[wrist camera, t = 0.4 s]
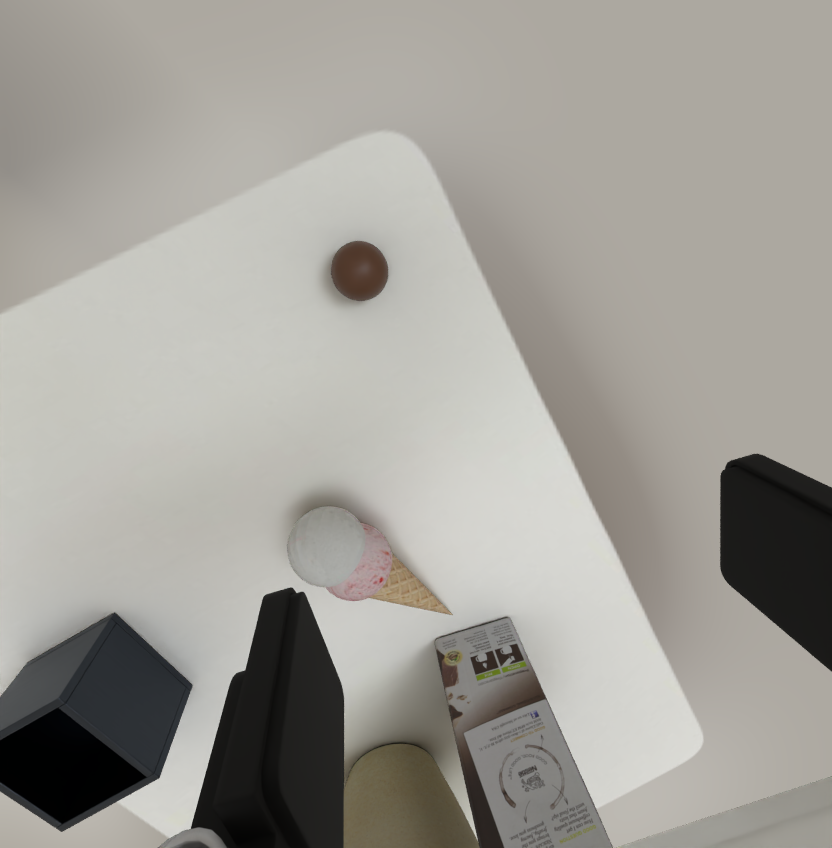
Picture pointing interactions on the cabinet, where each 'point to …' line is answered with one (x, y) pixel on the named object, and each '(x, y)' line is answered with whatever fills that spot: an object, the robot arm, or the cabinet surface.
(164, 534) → the cabinet surface
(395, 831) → the plant pot
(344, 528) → the ice cream cone
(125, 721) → the waste bin
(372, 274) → the ball
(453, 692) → the coffee box
